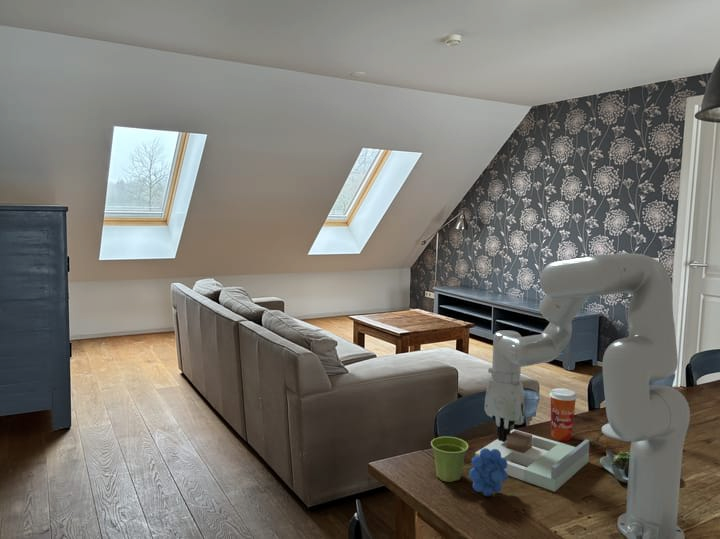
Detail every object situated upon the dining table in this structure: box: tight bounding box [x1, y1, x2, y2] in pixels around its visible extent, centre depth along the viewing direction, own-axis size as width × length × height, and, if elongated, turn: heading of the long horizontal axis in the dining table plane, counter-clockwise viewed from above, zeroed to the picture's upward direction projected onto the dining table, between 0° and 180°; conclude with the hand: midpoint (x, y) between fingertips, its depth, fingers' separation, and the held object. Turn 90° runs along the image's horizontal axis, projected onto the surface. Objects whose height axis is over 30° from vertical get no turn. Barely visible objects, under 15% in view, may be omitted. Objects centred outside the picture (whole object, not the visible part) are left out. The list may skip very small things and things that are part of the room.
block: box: [506, 429, 533, 453], centre depth 153 cm, size 5×5×4 cm
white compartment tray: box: [474, 428, 590, 493], centre depth 150 cm, size 22×22×6 cm
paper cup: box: [549, 387, 578, 442], centre depth 167 cm, size 8×8×14 cm
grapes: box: [468, 447, 509, 497], centre depth 131 cm, size 12×7×12 cm, turn 120°
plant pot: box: [430, 436, 469, 483], centre depth 142 cm, size 9×9×9 cm
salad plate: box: [599, 449, 630, 486], centre depth 146 cm, size 19×18×5 cm
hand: (503, 439), depth 156 cm, fingers closed
